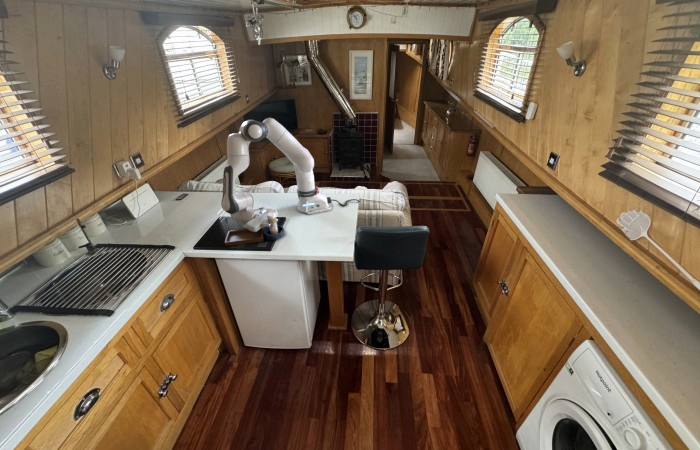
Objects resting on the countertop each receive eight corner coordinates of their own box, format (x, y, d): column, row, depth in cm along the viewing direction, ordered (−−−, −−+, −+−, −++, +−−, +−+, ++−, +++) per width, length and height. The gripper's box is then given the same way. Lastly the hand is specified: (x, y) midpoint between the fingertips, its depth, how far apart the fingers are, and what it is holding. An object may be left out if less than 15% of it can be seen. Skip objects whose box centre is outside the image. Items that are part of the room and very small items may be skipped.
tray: (264, 230, 166) (264, 226, 165) (263, 241, 157) (262, 238, 155) (229, 234, 164) (228, 230, 162) (225, 246, 154) (224, 242, 152)
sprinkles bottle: (269, 234, 162) (264, 214, 155) (275, 231, 165) (271, 211, 158) (273, 237, 160) (269, 217, 153) (280, 234, 163) (276, 213, 156)
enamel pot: (284, 227, 169) (283, 223, 167) (284, 240, 158) (283, 235, 156) (265, 229, 167) (264, 225, 166) (264, 242, 156) (263, 237, 154)
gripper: (240, 221, 154) (260, 227, 148) (265, 205, 169) (284, 210, 164) (242, 231, 157) (262, 237, 152) (267, 214, 172) (285, 219, 167)
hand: (273, 222), depth 158 cm, fingers closed on sprinkles bottle, 4 cm apart
